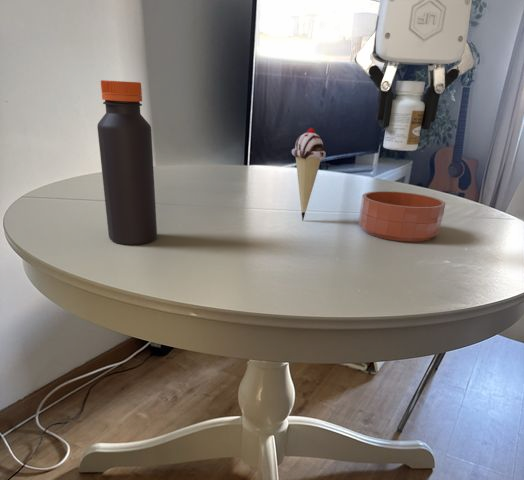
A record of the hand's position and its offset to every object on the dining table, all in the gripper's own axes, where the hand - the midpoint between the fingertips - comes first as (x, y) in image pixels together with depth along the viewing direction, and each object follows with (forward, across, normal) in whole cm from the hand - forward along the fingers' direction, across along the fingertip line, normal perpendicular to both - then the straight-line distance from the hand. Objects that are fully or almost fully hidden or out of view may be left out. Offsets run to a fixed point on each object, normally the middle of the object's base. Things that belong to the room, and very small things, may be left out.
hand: (403, 126), depth 61 cm
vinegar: (+17, -36, 0) cm, 40 cm away
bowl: (+17, +5, +14) cm, 22 cm away
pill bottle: (+3, 0, 0) cm, 3 cm away
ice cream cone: (+17, -11, +18) cm, 27 cm away
